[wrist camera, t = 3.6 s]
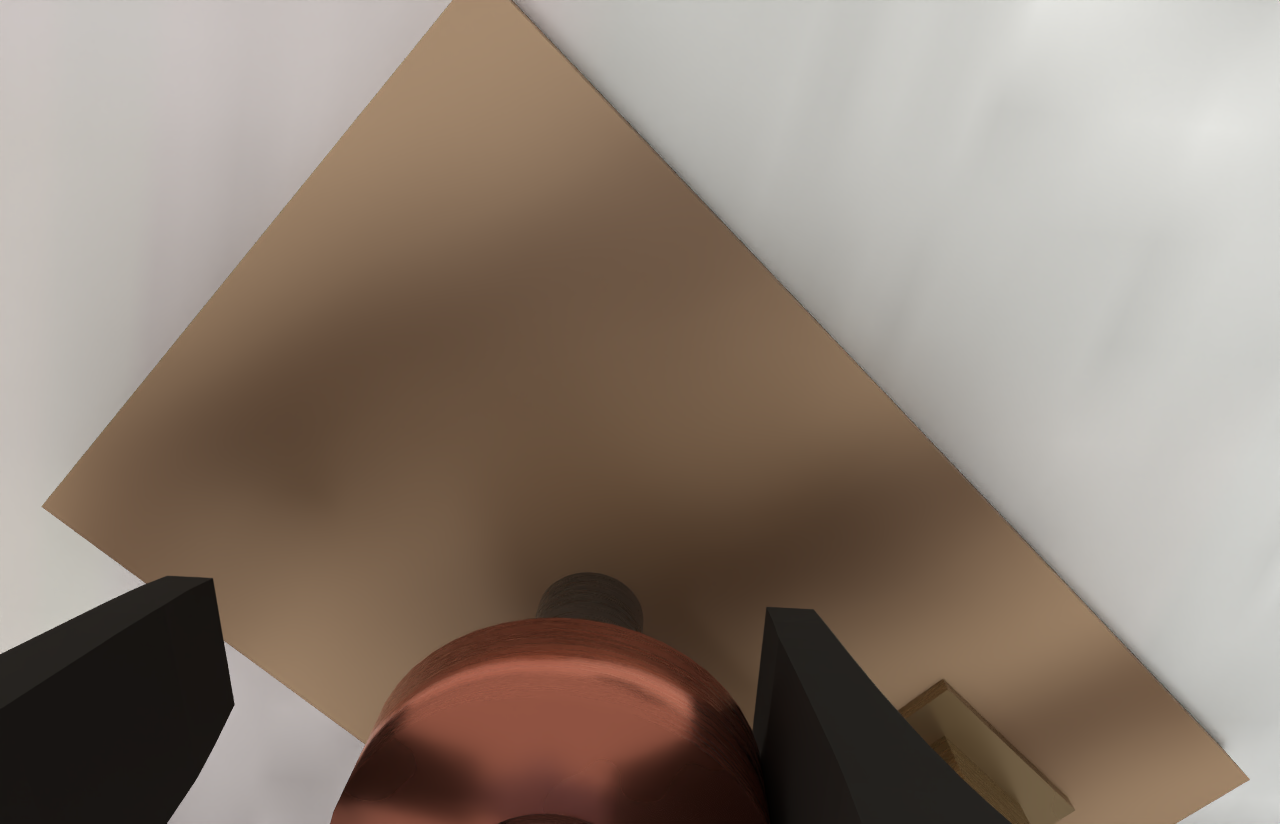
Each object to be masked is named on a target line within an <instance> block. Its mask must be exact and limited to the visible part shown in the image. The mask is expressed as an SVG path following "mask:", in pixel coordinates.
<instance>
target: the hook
mask: <svg viewBox="0 0 1280 824" xmlns="http://www.w3.org/2000/svg"><path fill="white" fill-rule="evenodd" d="M330 824H770V818H769V811H768V804H767V798H766V792H765V785H764V779H763V773H762V766H761V759H760V754H759V749H758V746H757V743H756V740H755V737H754V735H753V732H752V729H751V727H750V725H749V723H748V721H747V720H746V718H745V716H744V714H743V712H742V710H741V709H740V707H739V706H738V705H737V703H736V702H735V701H734V699H733V698H732V697H731V695H730V694H729V693H728V691H727V690H726V689H725V688H724V687H723V686H722V685H721V684H720V683H719V682H718V681H717V680H716V679H715V678H714V677H713V676H712V675H711V674H710V673H709V672H708V671H706V670H705V669H704V668H702V667H701V666H700V665H698V664H697V663H696V662H695V661H693V660H692V659H691V658H689V657H688V656H686V655H684V654H683V653H681V652H679V651H678V650H676V649H674V648H672V647H671V646H669V645H667V644H666V643H663V642H661V641H659V640H656V639H654V638H652V637H649V636H647V635H645V634H643V612H642V608H641V605H640V603H639V601H638V599H637V597H636V596H635V594H634V593H633V592H632V591H631V590H630V589H629V588H628V587H627V586H626V585H625V584H623V583H622V582H620V581H619V580H617V579H615V578H613V577H611V576H608V575H604V574H600V573H593V572H582V573H576V574H572V575H568V576H566V577H563V578H561V579H560V580H558V581H556V582H555V583H554V584H552V585H551V586H550V587H549V588H548V589H547V590H546V591H545V593H544V594H543V596H542V598H541V600H540V602H539V605H538V609H537V612H536V616H535V618H531V619H524V620H518V621H511V622H505V623H500V624H497V625H493V626H490V627H486V628H483V629H479V630H476V631H474V632H471V633H469V634H467V635H464V636H462V637H459V638H457V639H455V640H453V641H451V642H449V643H447V644H446V645H444V646H442V647H441V648H439V649H437V650H435V651H434V652H432V653H431V654H430V655H428V656H427V657H426V658H424V659H423V660H422V661H421V662H419V663H418V664H417V665H416V666H414V667H413V668H412V669H411V670H410V671H409V672H408V673H407V675H406V676H405V677H404V678H403V679H402V680H401V681H400V682H399V683H398V684H397V686H396V687H395V689H394V690H393V692H392V693H391V695H390V696H389V697H388V699H387V700H386V702H385V704H384V706H383V708H382V710H381V713H380V715H379V717H378V719H377V721H376V723H375V725H374V727H373V729H372V731H371V734H370V736H369V738H368V740H367V742H366V744H365V746H364V748H363V750H362V753H361V755H360V757H359V759H358V761H357V763H356V765H355V767H354V769H353V771H352V774H351V776H350V778H349V780H348V782H347V784H346V786H345V788H344V790H343V793H342V795H341V797H340V799H339V801H338V803H337V805H336V807H335V810H334V812H333V815H332V819H331V823H330Z"/></svg>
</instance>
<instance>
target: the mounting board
mask: <svg viewBox="0 0 1280 824" xmlns="http://www.w3.org/2000/svg"><path fill="white" fill-rule="evenodd" d="M42 507H43V508H44V509H45V510H47V511H48V512H49V513H51V514H52V515H54V516H55V517H56V518H58V519H59V520H60V521H62V522H63V523H64V524H66V525H67V526H69V527H70V528H71V529H73V530H74V531H75V532H77V533H78V534H79V535H81V536H82V537H84V538H85V539H86V540H88V541H89V542H90V543H92V544H93V545H94V546H96V547H97V548H98V549H100V550H101V551H103V552H104V553H105V554H107V555H108V556H109V557H111V558H112V559H113V560H115V561H116V562H118V563H119V564H120V565H122V566H123V567H124V568H126V569H127V570H128V571H130V572H131V573H133V574H134V575H135V576H137V577H138V578H139V579H141V580H142V581H143V582H145V583H146V584H147V583H150V582H152V581H155V580H157V579H160V578H162V577H165V576H185V577H204V578H213V581H214V587H215V593H216V598H217V604H218V610H219V616H220V622H221V628H222V634H223V640H224V641H225V642H227V643H228V644H229V645H231V646H232V647H233V648H235V649H236V650H237V651H239V652H240V653H242V654H243V655H244V656H246V657H247V658H248V659H250V660H251V661H252V662H254V663H255V664H256V665H258V666H259V667H261V668H262V669H263V670H265V671H266V672H267V673H269V674H270V675H271V676H273V677H274V678H276V679H277V680H278V681H280V682H281V683H282V684H284V685H285V686H286V687H288V688H289V689H291V690H292V691H293V692H295V693H296V694H297V695H299V696H300V697H301V698H303V699H304V700H306V701H307V702H308V703H310V704H311V705H312V706H314V707H315V708H316V709H318V710H319V711H321V712H322V713H323V714H325V715H326V716H327V717H329V718H330V719H331V720H333V721H334V722H335V723H337V724H338V725H340V726H341V727H342V728H344V729H345V730H346V731H348V732H349V733H350V734H352V735H353V736H355V737H356V738H357V739H359V740H360V741H361V742H363V743H364V744H366V742H367V740H368V738H369V736H370V734H371V731H372V729H373V727H374V725H375V723H376V721H377V719H378V717H379V715H380V713H381V710H382V708H383V706H384V704H385V702H386V700H387V699H388V697H389V696H390V695H391V693H392V692H393V690H394V689H395V687H396V686H397V684H398V683H399V682H400V681H401V680H402V679H403V678H404V677H405V676H406V675H407V673H408V672H409V671H410V670H411V669H412V668H413V667H414V666H416V665H417V664H418V663H419V662H421V661H422V660H423V659H424V658H426V657H427V656H428V655H430V654H431V653H432V652H434V651H435V650H437V649H439V648H441V647H442V646H444V645H446V644H447V643H449V642H451V641H453V640H455V639H457V638H459V637H462V636H464V635H467V634H469V633H471V632H474V631H476V630H479V629H483V628H486V627H490V626H493V625H497V624H500V623H505V622H511V621H518V620H524V619H531V618H535V616H536V612H537V609H538V605H539V602H540V600H541V598H542V596H543V594H544V593H545V591H546V590H547V589H548V588H549V587H550V586H551V585H552V584H554V583H555V582H556V581H558V580H560V579H561V578H563V577H566V576H568V575H572V574H576V573H582V572H593V573H600V574H604V575H608V576H611V577H613V578H615V579H617V580H619V581H620V582H622V583H623V584H625V585H626V586H627V587H628V588H629V589H630V590H631V591H632V592H633V593H634V594H635V596H636V597H637V599H638V601H639V603H640V605H641V608H642V612H643V634H645V635H647V636H649V637H652V638H654V639H656V640H659V641H661V642H663V643H666V644H667V645H669V646H671V647H672V648H674V649H676V650H678V651H679V652H681V653H683V654H684V655H686V656H688V657H689V658H691V659H692V660H693V661H695V662H696V663H697V664H698V665H700V666H701V667H702V668H704V669H705V670H706V671H708V672H709V673H710V674H711V675H712V676H713V677H714V678H715V679H716V680H717V681H718V682H719V683H720V684H721V685H722V686H723V687H724V688H725V689H726V690H727V691H728V693H729V694H730V695H731V697H732V698H733V699H734V701H735V702H736V703H737V705H738V706H739V707H740V709H741V710H742V712H743V714H744V716H745V718H746V720H747V721H748V723H749V725H750V727H751V729H752V730H753V721H754V712H755V703H756V694H757V685H758V676H759V668H760V659H761V650H762V641H763V632H764V623H765V614H766V607H780V608H800V609H814V610H815V611H816V613H817V614H818V615H819V616H820V617H821V618H822V620H823V621H824V622H825V623H826V625H827V626H828V627H829V628H830V630H831V631H832V632H833V633H834V635H835V636H836V637H837V638H838V640H839V641H840V642H841V644H842V645H843V646H844V647H845V649H846V650H847V651H848V652H849V654H850V655H851V656H852V657H853V659H854V660H855V661H856V662H857V663H858V665H859V666H860V667H861V668H862V670H863V671H864V672H865V673H866V674H867V676H868V677H869V678H870V679H871V680H872V682H873V683H874V684H875V685H876V686H877V688H878V689H879V690H880V691H881V692H882V693H883V695H884V696H885V697H886V698H887V699H888V700H889V701H890V702H891V704H892V705H893V706H894V707H895V708H896V709H897V710H899V709H901V708H902V707H904V706H905V705H906V704H908V703H909V702H911V701H912V700H913V699H915V698H916V697H918V696H919V695H920V694H922V693H923V692H925V691H926V690H928V689H929V688H930V687H932V686H933V685H935V684H936V683H937V682H939V681H940V680H942V679H944V680H945V681H946V682H947V683H948V684H949V685H950V686H951V687H952V688H953V689H954V690H955V691H956V692H957V693H958V694H959V695H961V696H962V697H963V698H964V699H965V700H966V701H967V702H968V703H969V704H970V705H971V706H972V707H973V708H974V709H975V710H976V711H977V712H978V713H979V714H980V715H982V716H983V717H984V718H985V719H986V720H987V721H988V722H989V723H990V724H991V725H992V726H993V727H994V728H995V729H996V730H997V731H998V732H999V733H1000V734H1001V735H1003V736H1004V737H1005V738H1006V739H1007V740H1008V741H1009V742H1010V743H1011V744H1012V745H1013V746H1014V747H1015V748H1016V749H1017V750H1018V751H1019V752H1020V753H1021V754H1022V755H1024V756H1025V757H1026V758H1027V759H1028V760H1029V761H1030V762H1031V763H1032V764H1033V765H1034V766H1035V767H1036V768H1037V769H1038V770H1039V771H1040V772H1041V773H1042V774H1043V775H1045V776H1046V777H1047V778H1048V779H1049V780H1050V781H1051V782H1052V783H1053V784H1054V785H1055V786H1056V787H1057V788H1058V789H1059V790H1060V791H1061V792H1062V793H1063V794H1064V795H1066V796H1067V797H1068V798H1069V800H1070V802H1071V804H1072V805H1073V807H1074V809H1075V811H1074V812H1072V813H1070V814H1069V815H1067V816H1066V817H1064V818H1062V819H1061V820H1059V821H1058V822H1056V823H1054V824H1176V823H1177V822H1179V821H1181V820H1183V819H1184V818H1186V817H1188V816H1189V815H1191V814H1193V813H1194V812H1196V811H1198V810H1199V809H1201V808H1203V807H1204V806H1206V805H1208V804H1209V803H1211V802H1213V801H1215V800H1216V799H1218V798H1220V797H1221V796H1223V795H1225V794H1226V793H1228V792H1230V791H1231V790H1233V789H1235V788H1236V787H1238V786H1240V785H1242V784H1243V783H1245V782H1247V781H1248V780H1250V779H1249V778H1248V777H1247V776H1246V775H1245V773H1244V772H1243V771H1242V770H1241V769H1240V768H1239V767H1238V765H1237V764H1236V763H1235V762H1234V761H1233V760H1232V759H1231V757H1230V756H1229V755H1228V754H1227V753H1226V752H1225V751H1224V749H1223V748H1222V747H1221V746H1220V745H1219V744H1218V743H1217V742H1216V741H1215V740H1214V739H1213V738H1212V737H1211V736H1210V735H1209V734H1208V733H1207V732H1206V731H1205V729H1204V728H1203V727H1202V726H1201V725H1200V724H1199V723H1198V722H1197V721H1196V720H1195V719H1194V718H1193V717H1192V716H1191V715H1190V714H1189V713H1188V712H1187V711H1186V709H1185V708H1184V707H1183V706H1182V705H1181V704H1180V703H1179V702H1178V701H1177V700H1176V699H1175V698H1174V697H1173V696H1172V695H1171V694H1170V693H1169V692H1168V691H1167V689H1166V688H1165V687H1164V686H1163V685H1162V684H1161V683H1160V682H1159V681H1158V680H1157V679H1156V678H1155V677H1154V676H1153V675H1152V674H1151V673H1150V672H1149V671H1148V669H1147V668H1146V667H1145V666H1144V665H1143V664H1142V663H1141V662H1140V661H1139V660H1138V659H1137V658H1136V657H1135V656H1134V655H1133V654H1132V653H1131V652H1130V651H1129V649H1128V648H1127V647H1126V646H1125V645H1124V644H1123V643H1122V642H1121V641H1120V640H1119V639H1118V638H1117V637H1116V636H1115V635H1114V634H1113V633H1112V632H1111V631H1110V629H1109V628H1108V627H1107V626H1106V625H1105V624H1104V623H1103V622H1102V621H1101V620H1100V619H1099V618H1098V617H1097V616H1096V615H1095V614H1094V613H1093V612H1092V611H1091V609H1090V608H1089V607H1088V606H1087V605H1086V604H1085V603H1084V602H1083V601H1082V600H1081V599H1080V598H1079V597H1078V596H1077V595H1076V594H1075V593H1074V592H1073V591H1072V589H1071V588H1070V587H1069V586H1068V585H1067V584H1066V583H1065V582H1064V581H1063V580H1062V579H1061V578H1060V577H1059V576H1058V575H1057V574H1056V573H1055V572H1054V571H1053V569H1052V568H1051V567H1050V566H1049V565H1048V564H1047V563H1046V562H1045V561H1044V560H1043V559H1042V558H1041V557H1040V556H1039V555H1038V554H1037V553H1036V552H1035V551H1034V549H1033V548H1032V547H1031V546H1030V545H1029V544H1028V543H1027V542H1026V541H1025V540H1024V539H1023V538H1022V537H1021V536H1020V535H1019V534H1018V533H1017V532H1016V531H1015V529H1014V528H1013V527H1012V526H1011V525H1010V524H1009V523H1008V522H1007V521H1006V520H1005V519H1004V518H1003V517H1002V516H1001V515H1000V514H999V513H998V512H997V511H996V509H995V508H994V507H993V506H992V505H991V504H990V503H989V502H988V501H987V500H986V499H985V498H984V497H983V496H982V495H981V494H980V493H979V492H978V491H977V489H976V488H975V487H974V486H973V485H972V484H971V483H970V482H969V481H968V480H967V479H966V478H965V477H964V476H963V475H962V474H961V473H960V472H959V471H958V469H957V468H956V467H955V466H954V465H953V464H952V463H951V462H950V461H949V460H948V459H947V458H946V457H945V456H944V455H943V454H942V453H941V452H940V451H939V449H938V448H937V447H936V446H935V445H934V444H933V443H932V442H931V441H930V440H929V439H928V438H927V437H926V436H925V435H924V434H923V433H922V432H921V431H920V429H919V428H918V427H917V426H916V425H915V424H914V423H913V422H912V421H911V420H910V419H909V418H908V417H907V416H906V415H905V414H904V413H903V412H902V411H901V409H900V408H899V407H898V406H897V405H896V404H895V403H894V402H893V401H892V400H891V399H890V398H889V397H888V396H887V395H886V394H885V393H884V392H883V391H882V389H881V388H880V387H879V386H878V385H877V384H876V383H875V382H874V381H873V380H872V379H871V378H870V377H869V376H868V375H867V374H866V373H865V372H864V371H863V369H862V368H861V367H860V366H859V365H858V364H857V363H856V362H855V361H854V360H853V359H852V358H851V357H850V356H849V355H848V354H847V353H846V352H845V351H844V349H843V348H842V347H841V346H840V345H839V344H838V343H837V342H836V341H835V340H834V339H833V338H832V337H831V336H830V335H829V334H828V333H827V332H826V331H825V329H824V328H823V327H822V326H821V325H820V324H819V323H818V322H817V321H816V320H815V319H814V318H813V317H812V316H811V315H810V314H809V313H808V312H807V311H806V309H805V308H804V307H803V306H802V305H801V304H800V303H799V302H798V301H797V300H796V299H795V298H794V297H793V296H792V295H791V294H790V293H789V292H788V291H787V289H786V288H785V287H784V286H783V285H782V284H781V283H780V282H779V281H778V280H777V279H776V278H775V277H774V276H773V275H772V274H771V273H770V272H769V271H768V269H767V268H766V267H765V266H764V265H763V264H762V263H761V262H760V261H759V260H758V259H757V258H756V257H755V256H754V255H753V254H752V253H751V252H750V251H749V249H748V248H747V247H746V246H745V245H744V244H743V243H742V242H741V241H740V240H739V239H738V238H737V237H736V236H735V235H734V234H733V233H732V232H731V231H730V229H729V228H728V227H727V226H726V225H725V224H724V223H723V222H722V221H721V220H720V219H719V218H718V217H717V216H716V215H715V214H714V213H713V212H712V211H711V209H710V208H709V207H708V206H707V205H706V204H705V203H704V202H703V201H702V200H701V199H700V198H699V197H698V196H697V195H696V194H695V193H694V192H693V191H692V189H691V188H690V187H689V186H688V185H687V184H686V183H685V182H684V181H683V180H682V179H681V178H680V177H679V176H678V175H677V174H676V173H675V172H674V171H673V169H672V168H671V167H670V166H669V165H668V164H667V163H666V162H665V161H664V160H663V159H662V158H661V157H660V156H659V155H658V154H657V153H656V152H655V151H654V149H653V148H652V147H651V146H650V145H649V144H648V143H647V142H646V141H645V140H644V139H643V138H642V137H641V136H640V135H639V134H638V133H637V132H636V131H635V129H634V128H633V127H632V126H631V125H630V124H629V123H628V122H627V121H626V120H625V119H624V118H623V117H622V116H621V115H620V114H619V113H618V112H617V111H616V109H615V108H614V107H613V106H612V105H611V104H610V103H609V102H608V101H607V100H606V99H605V98H604V97H603V96H602V95H601V94H600V93H599V92H598V91H597V89H596V88H595V87H594V86H593V85H592V84H591V83H590V82H589V81H588V80H587V79H586V78H585V77H584V76H583V75H582V74H581V73H580V72H579V71H578V69H577V68H576V67H575V66H574V65H573V64H572V63H571V62H570V61H569V60H568V59H567V58H566V57H565V56H564V55H563V54H562V53H561V52H560V51H559V49H558V48H557V47H556V46H555V45H554V44H553V43H552V42H551V41H550V40H549V39H548V38H547V37H546V36H545V35H544V34H543V33H542V32H541V31H540V29H539V28H538V27H537V26H536V25H535V24H534V23H533V22H532V21H531V20H530V19H529V18H528V17H527V16H526V15H525V14H524V13H523V12H522V11H521V9H520V8H519V7H518V6H517V5H516V4H515V3H514V2H513V1H512V0H452V2H451V3H450V4H449V5H448V7H447V8H446V9H445V10H444V12H443V13H442V14H441V15H440V16H439V18H438V19H437V20H436V21H435V23H434V24H433V25H432V26H431V28H430V29H429V30H428V31H427V33H426V34H425V35H424V36H423V37H422V39H421V40H420V41H419V42H418V44H417V45H416V46H415V47H414V49H413V50H412V51H411V52H410V53H409V55H408V56H407V57H406V58H405V60H404V61H403V62H402V63H401V65H400V66H399V67H398V68H397V69H396V71H395V72H394V73H393V74H392V76H391V77H390V78H389V79H388V81H387V82H386V83H385V84H384V85H383V87H382V88H381V89H380V90H379V92H378V93H377V94H376V95H375V97H374V98H373V99H372V100H371V101H370V103H369V104H368V105H367V106H366V108H365V109H364V110H363V111H362V113H361V114H360V115H359V116H358V117H357V119H356V120H355V121H354V122H353V124H352V125H351V126H350V127H349V129H348V130H347V131H346V132H345V133H344V135H343V136H342V137H341V138H340V140H339V141H338V142H337V143H336V145H335V146H334V147H333V148H332V150H331V151H330V152H329V153H328V154H327V156H326V157H325V158H324V159H323V161H322V162H321V163H320V164H319V166H318V167H317V168H316V169H315V170H314V172H313V173H312V174H311V175H310V177H309V178H308V179H307V180H306V182H305V183H304V184H303V185H302V186H301V188H300V189H299V190H298V191H297V193H296V194H295V195H294V196H293V198H292V199H291V200H290V201H289V202H288V204H287V205H286V206H285V207H284V209H283V210H282V211H281V212H280V214H279V215H278V216H277V217H276V218H275V220H274V221H273V222H272V223H271V225H270V226H269V227H268V228H267V230H266V231H265V232H264V233H263V234H262V236H261V237H260V238H259V239H258V241H257V242H256V243H255V244H254V246H253V247H252V248H251V249H250V250H249V252H248V253H247V254H246V255H245V257H244V258H243V259H242V260H241V262H240V263H239V264H238V265H237V267H236V268H235V269H234V270H233V271H232V273H231V274H230V275H229V276H228V278H227V279H226V280H225V281H224V283H223V284H222V285H221V286H220V287H219V289H218V290H217V291H216V292H215V294H214V295H213V296H212V297H211V299H210V300H209V301H208V302H207V303H206V305H205V306H204V307H203V308H202V310H201V311H200V312H199V313H198V315H197V316H196V317H195V318H194V319H193V321H192V322H191V323H190V324H189V326H188V327H187V328H186V329H185V331H184V332H183V333H182V334H181V335H180V337H179V338H178V339H177V340H176V342H175V343H174V344H173V345H172V347H171V348H170V349H169V350H168V351H167V353H166V354H165V355H164V356H163V358H162V359H161V360H160V361H159V363H158V364H157V365H156V366H155V368H154V369H153V370H152V371H151V372H150V374H149V375H148V376H147V377H146V379H145V380H144V381H143V382H142V384H141V385H140V386H139V387H138V388H137V390H136V391H135V392H134V393H133V395H132V396H131V397H130V398H129V400H128V401H127V402H126V403H125V404H124V406H123V407H122V408H121V409H120V411H119V412H118V413H117V414H116V416H115V417H114V418H113V419H112V420H111V422H110V423H109V424H108V425H107V427H106V428H105V429H104V430H103V432H102V433H101V434H100V435H99V436H98V438H97V439H96V440H95V441H94V443H93V444H92V445H91V446H90V448H89V449H88V450H87V451H86V452H85V454H84V455H83V456H82V457H81V459H80V460H79V461H78V462H77V464H76V465H75V466H74V467H73V468H72V470H71V471H70V472H69V473H68V475H67V476H66V477H65V478H64V480H63V481H62V482H61V483H60V485H59V486H58V487H57V488H56V489H55V491H54V492H53V493H52V494H51V496H50V497H49V498H48V499H47V501H46V502H45V503H44V504H43V505H42Z"/></svg>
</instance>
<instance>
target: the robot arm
mask: <svg viewBox="0 0 1280 824" xmlns="http://www.w3.org/2000/svg"><path fill="white" fill-rule="evenodd" d="M233 707H234V699H233V693H232V687H231V681H230V675H229V669H228V663H227V657H226V652H225V646H224V640H223V634H222V628H221V622H220V616H219V610H218V604H217V598H216V593H215V587H214V581H213V578H204V577H185V576H165V577H162V578H160V579H157V580H155V581H152V582H150V583H147V584H145V585H142V586H140V587H138V588H136V589H133V590H131V591H129V592H127V593H125V594H123V595H120V596H118V597H116V598H114V599H112V600H110V601H108V602H106V603H104V604H102V605H100V606H98V607H95V608H93V609H91V610H89V611H87V612H85V613H83V614H81V615H79V616H77V617H75V618H73V619H71V620H69V621H67V622H65V623H63V624H61V625H59V626H57V627H55V628H53V629H51V630H49V631H47V632H45V633H43V634H41V635H39V636H37V637H34V638H32V639H30V640H28V641H26V642H24V643H22V644H20V645H18V646H16V647H14V648H12V649H10V650H8V651H6V652H4V653H2V654H0V824H167V822H168V821H169V820H170V818H171V817H172V815H173V814H174V812H175V811H176V809H177V808H178V806H179V805H180V803H181V802H182V800H183V799H184V797H185V796H186V794H187V793H188V791H189V790H190V788H191V787H192V785H193V784H194V782H195V781H196V779H197V777H198V776H199V774H200V772H201V770H202V768H203V766H204V764H205V763H206V761H207V759H208V757H209V755H210V753H211V751H212V749H213V748H214V746H215V744H216V742H217V740H218V738H219V735H220V733H221V731H222V729H223V727H224V725H225V723H226V721H227V719H228V717H229V715H230V713H231V711H232V709H233ZM752 732H753V735H754V737H755V740H756V743H757V746H758V749H759V754H760V759H761V766H762V773H763V779H764V785H765V792H766V798H767V804H768V811H769V818H770V824H1012V823H1011V822H1010V821H1009V820H1007V819H1006V818H1005V817H1004V816H1003V815H1002V814H1001V813H999V812H998V811H997V810H996V809H995V808H994V807H992V806H991V805H990V804H989V803H988V802H987V801H986V800H985V799H984V798H982V797H981V796H980V795H979V794H978V793H977V792H976V791H975V790H974V789H973V788H972V787H971V786H970V785H969V784H967V783H966V782H965V781H964V780H963V779H962V778H961V777H960V776H959V775H958V774H957V773H956V772H955V771H954V770H953V769H952V768H951V767H950V766H949V765H948V764H947V763H946V762H945V761H944V760H943V759H942V758H941V757H940V756H939V755H938V754H937V753H936V752H935V751H934V750H933V749H932V748H931V747H930V746H929V745H928V744H927V742H926V741H925V740H924V739H923V738H922V737H921V736H920V735H919V734H918V733H917V732H916V731H915V730H914V728H913V727H912V726H911V725H910V724H909V723H908V722H907V721H906V719H905V718H904V717H903V716H902V715H901V714H900V713H899V712H898V710H897V709H896V708H895V707H894V706H893V705H892V704H891V702H890V701H889V700H888V699H887V698H886V697H885V696H884V695H883V693H882V692H881V691H880V690H879V689H878V688H877V686H876V685H875V684H874V683H873V682H872V680H871V679H870V678H869V677H868V676H867V674H866V673H865V672H864V671H863V670H862V668H861V667H860V666H859V665H858V663H857V662H856V661H855V660H854V659H853V657H852V656H851V655H850V654H849V652H848V651H847V650H846V649H845V647H844V646H843V645H842V644H841V642H840V641H839V640H838V638H837V637H836V636H835V635H834V633H833V632H832V631H831V630H830V628H829V627H828V626H827V625H826V623H825V622H824V621H823V620H822V618H821V617H820V616H819V615H818V614H817V613H816V611H815V610H814V609H800V608H780V607H766V614H765V623H764V632H763V641H762V650H761V659H760V668H759V676H758V685H757V694H756V703H755V712H754V721H753V730H752Z"/></svg>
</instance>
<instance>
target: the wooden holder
mask: <svg viewBox="0 0 1280 824" xmlns="http://www.w3.org/2000/svg"><path fill="white" fill-rule="evenodd" d="M898 712H899V713H900V714H901V715H902V716H903V717H904V718H905V719H906V721H907V722H908V723H909V724H910V725H911V726H912V727H913V728H914V730H915V731H916V732H917V733H918V734H919V735H920V736H921V737H922V738H923V739H924V740H925V741H926V742H927V744H928V745H929V746H930V747H931V748H932V749H933V750H934V751H935V752H936V753H937V754H938V755H939V756H940V757H941V758H942V759H943V760H944V761H945V762H946V763H947V764H948V765H949V766H950V767H951V768H952V769H953V770H954V771H955V772H956V773H957V774H958V775H959V776H960V777H961V778H962V779H963V780H964V781H965V782H966V783H967V784H969V785H970V786H971V787H972V788H973V789H974V790H975V791H976V792H977V793H978V794H979V795H980V796H981V797H982V798H984V799H985V800H986V801H987V802H988V803H989V804H990V805H991V806H992V807H994V808H995V809H996V810H997V811H998V812H999V813H1001V814H1002V815H1003V816H1004V817H1005V818H1006V819H1007V820H1009V821H1010V822H1011V823H1012V824H1054V823H1056V822H1058V821H1059V820H1061V819H1062V818H1064V817H1066V816H1067V815H1069V814H1070V813H1072V812H1074V811H1075V809H1074V807H1073V805H1072V804H1071V802H1070V800H1069V798H1068V797H1067V796H1066V795H1064V794H1063V793H1062V792H1061V791H1060V790H1059V789H1058V788H1057V787H1056V786H1055V785H1054V784H1053V783H1052V782H1051V781H1050V780H1049V779H1048V778H1047V777H1046V776H1045V775H1043V774H1042V773H1041V772H1040V771H1039V770H1038V769H1037V768H1036V767H1035V766H1034V765H1033V764H1032V763H1031V762H1030V761H1029V760H1028V759H1027V758H1026V757H1025V756H1024V755H1022V754H1021V753H1020V752H1019V751H1018V750H1017V749H1016V748H1015V747H1014V746H1013V745H1012V744H1011V743H1010V742H1009V741H1008V740H1007V739H1006V738H1005V737H1004V736H1003V735H1001V734H1000V733H999V732H998V731H997V730H996V729H995V728H994V727H993V726H992V725H991V724H990V723H989V722H988V721H987V720H986V719H985V718H984V717H983V716H982V715H980V714H979V713H978V712H977V711H976V710H975V709H974V708H973V707H972V706H971V705H970V704H969V703H968V702H967V701H966V700H965V699H964V698H963V697H962V696H961V695H959V694H958V693H957V692H956V691H955V690H954V689H953V688H952V687H951V686H950V685H949V684H948V683H947V682H946V681H945V680H944V679H942V680H940V681H939V682H937V683H936V684H935V685H933V686H932V687H930V688H929V689H928V690H926V691H925V692H923V693H922V694H920V695H919V696H918V697H916V698H915V699H913V700H912V701H911V702H909V703H908V704H906V705H905V706H904V707H902V708H901V709H899V710H898Z"/></svg>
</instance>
